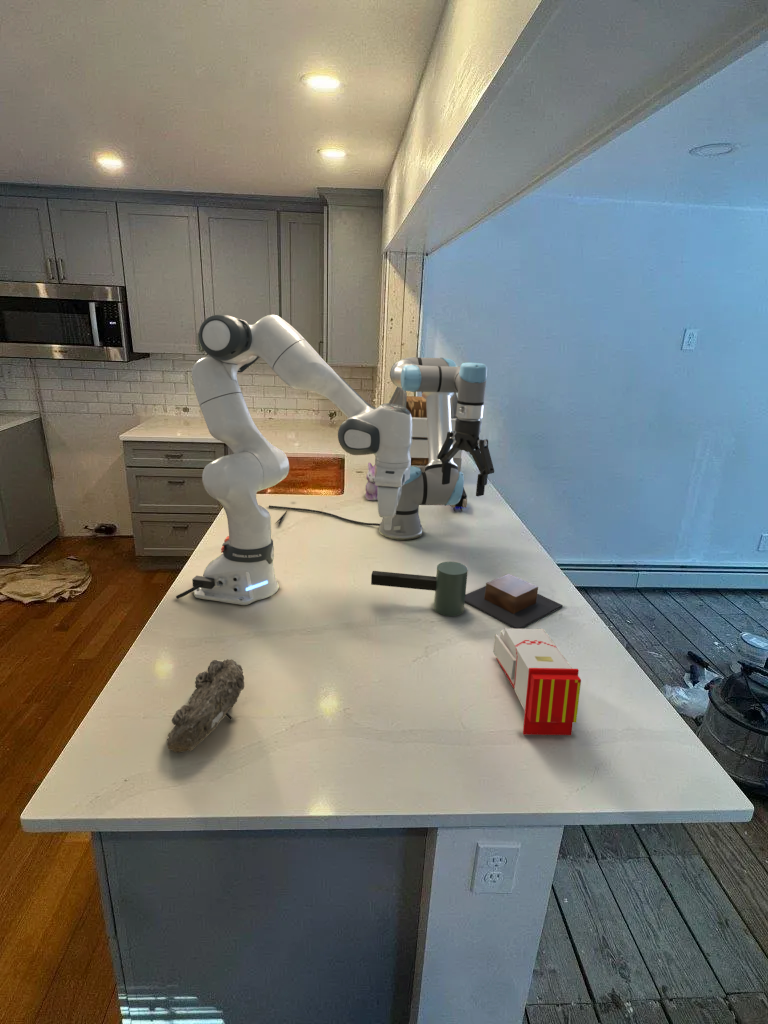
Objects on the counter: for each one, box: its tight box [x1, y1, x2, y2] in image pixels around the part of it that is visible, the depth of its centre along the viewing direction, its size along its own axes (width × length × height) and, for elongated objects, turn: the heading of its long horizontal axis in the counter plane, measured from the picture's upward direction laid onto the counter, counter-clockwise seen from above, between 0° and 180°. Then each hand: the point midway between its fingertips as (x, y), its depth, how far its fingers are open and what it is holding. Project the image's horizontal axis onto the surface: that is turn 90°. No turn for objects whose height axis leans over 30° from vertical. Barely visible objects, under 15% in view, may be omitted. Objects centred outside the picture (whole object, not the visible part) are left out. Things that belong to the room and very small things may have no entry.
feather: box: [274, 510, 288, 528], centre depth 213 cm, size 2×28×2 cm
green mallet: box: [370, 561, 469, 617], centre depth 150 cm, size 25×8×12 cm, turn 83°
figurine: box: [364, 462, 378, 501], centre depth 234 cm, size 9×10×15 cm
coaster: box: [464, 585, 563, 629], centre depth 156 cm, size 20×20×1 cm
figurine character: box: [449, 487, 468, 512], centre depth 228 cm, size 7×8×15 cm
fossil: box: [166, 658, 245, 754], centre depth 106 cm, size 22×10×15 cm
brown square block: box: [484, 573, 539, 614], centre depth 155 cm, size 10×10×5 cm
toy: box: [492, 627, 582, 736], centre depth 118 cm, size 12×13×30 cm
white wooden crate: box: [388, 386, 463, 472], centre depth 268 cm, size 34×33×41 cm
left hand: (390, 522), depth 145 cm, fingers open, 8 cm apart
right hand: (462, 489), depth 169 cm, fingers open, 13 cm apart
